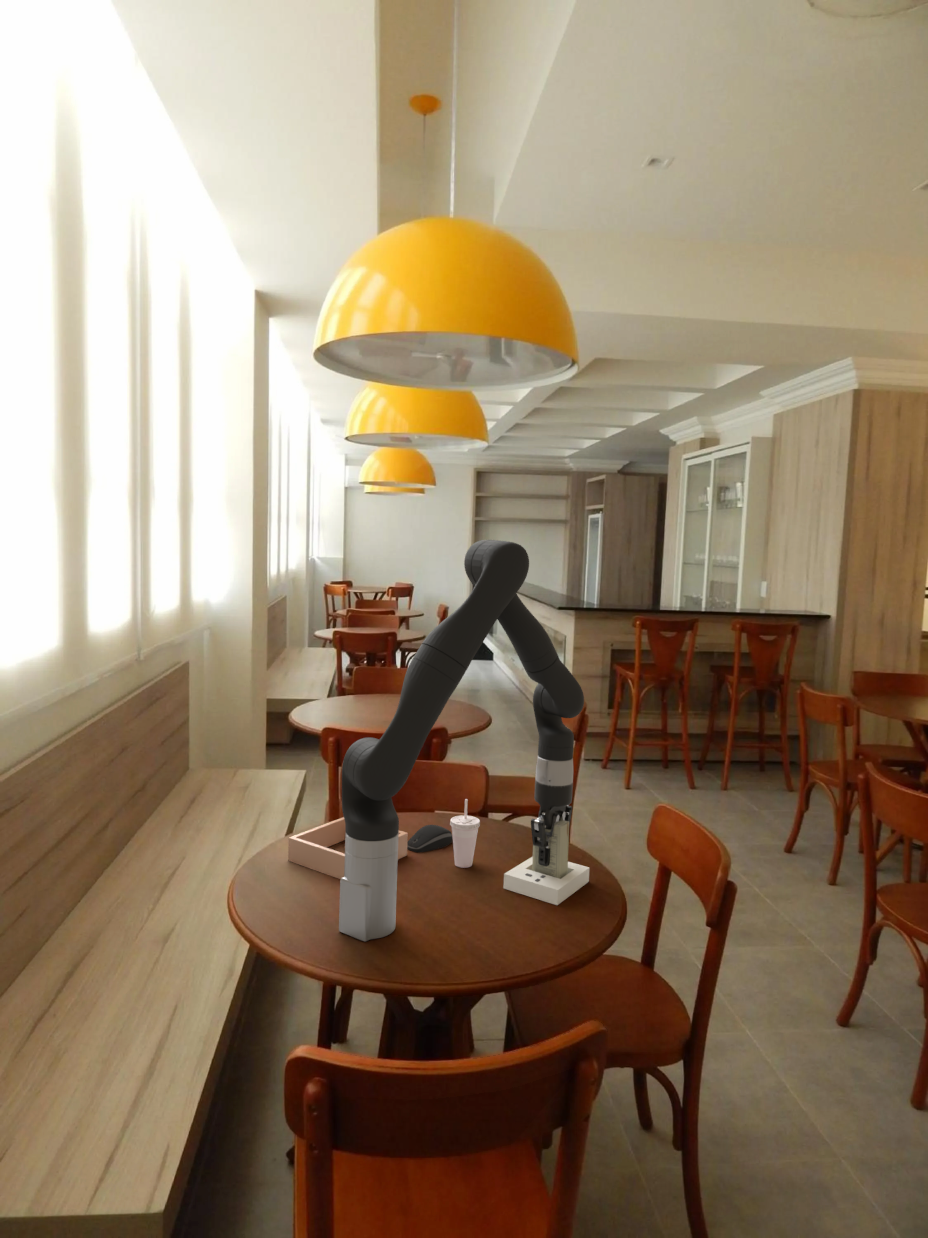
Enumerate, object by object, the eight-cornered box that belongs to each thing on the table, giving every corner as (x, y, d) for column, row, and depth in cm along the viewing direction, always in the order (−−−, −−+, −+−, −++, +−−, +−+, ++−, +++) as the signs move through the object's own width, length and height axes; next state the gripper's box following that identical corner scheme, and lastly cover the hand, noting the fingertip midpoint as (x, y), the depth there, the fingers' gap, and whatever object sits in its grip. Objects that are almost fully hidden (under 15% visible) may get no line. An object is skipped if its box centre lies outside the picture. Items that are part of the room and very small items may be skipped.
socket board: (557, 905, 151) (558, 887, 151) (503, 888, 158) (504, 871, 157) (588, 881, 163) (589, 865, 162) (537, 866, 169) (538, 851, 169)
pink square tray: (349, 882, 157) (350, 858, 157) (288, 860, 167) (288, 837, 167) (407, 855, 173) (407, 833, 172) (347, 836, 182) (348, 815, 182)
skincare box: (568, 880, 161) (571, 821, 160) (558, 887, 157) (562, 827, 156) (539, 872, 164) (542, 814, 163) (529, 879, 161) (533, 820, 160)
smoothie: (479, 859, 172) (482, 796, 171) (477, 871, 166) (479, 806, 164) (450, 857, 172) (452, 794, 171) (446, 869, 166) (449, 804, 165)
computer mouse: (399, 847, 178) (399, 830, 178) (437, 834, 187) (438, 818, 187) (421, 856, 173) (421, 838, 173) (459, 843, 182) (459, 826, 182)
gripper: (554, 790, 151) (549, 877, 152) (586, 775, 163) (581, 855, 164) (520, 783, 155) (515, 867, 157) (554, 768, 167) (549, 847, 168)
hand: (549, 861), depth 160 cm, fingers closed on skincare box, 4 cm apart
